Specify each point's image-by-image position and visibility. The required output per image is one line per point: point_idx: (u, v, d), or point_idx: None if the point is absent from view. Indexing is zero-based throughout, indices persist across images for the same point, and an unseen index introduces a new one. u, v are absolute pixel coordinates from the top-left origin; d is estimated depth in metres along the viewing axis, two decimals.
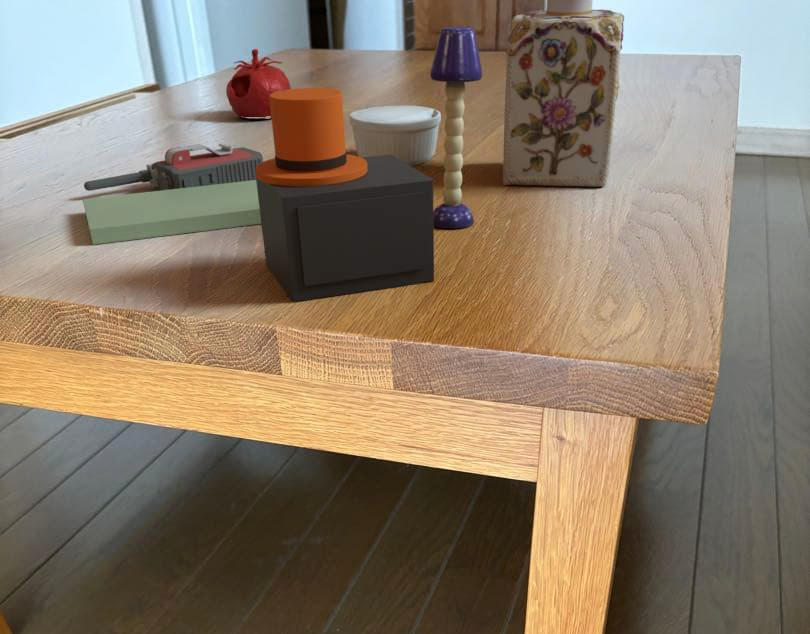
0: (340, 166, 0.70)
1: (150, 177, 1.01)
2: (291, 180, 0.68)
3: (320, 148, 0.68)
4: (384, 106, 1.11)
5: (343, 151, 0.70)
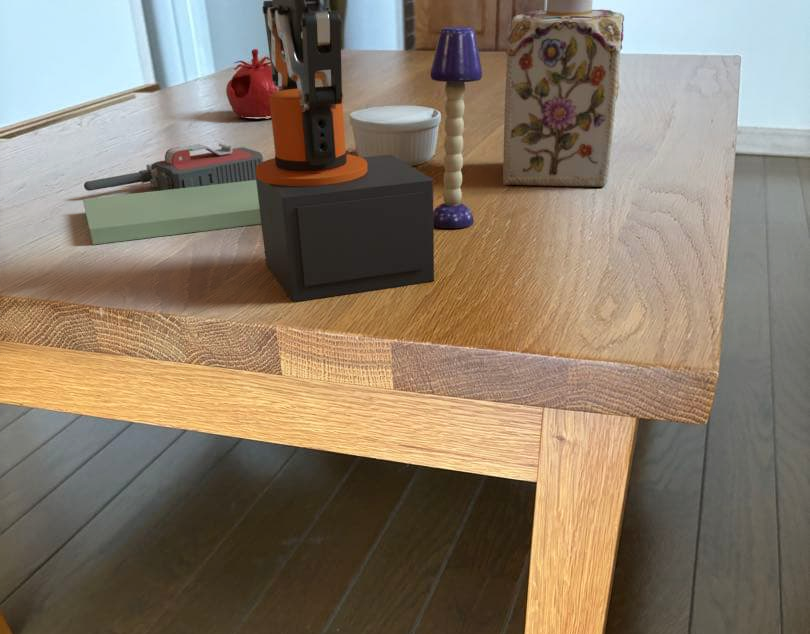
0: (340, 166, 0.70)
1: (150, 177, 1.01)
2: (291, 180, 0.68)
3: None
4: (384, 106, 1.11)
5: (343, 151, 0.70)
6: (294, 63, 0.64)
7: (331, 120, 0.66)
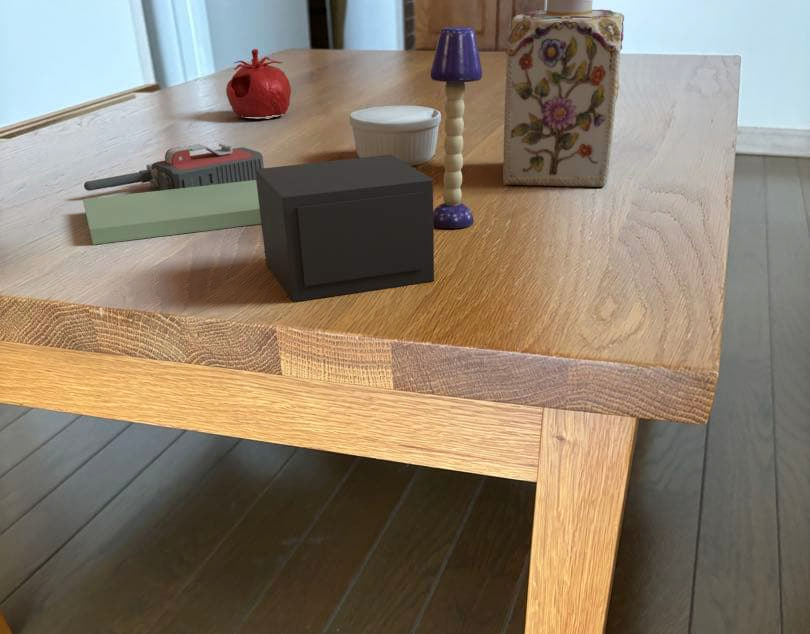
0: None
1: (150, 177, 1.01)
2: None
3: None
4: (384, 106, 1.11)
5: None
6: None
7: None
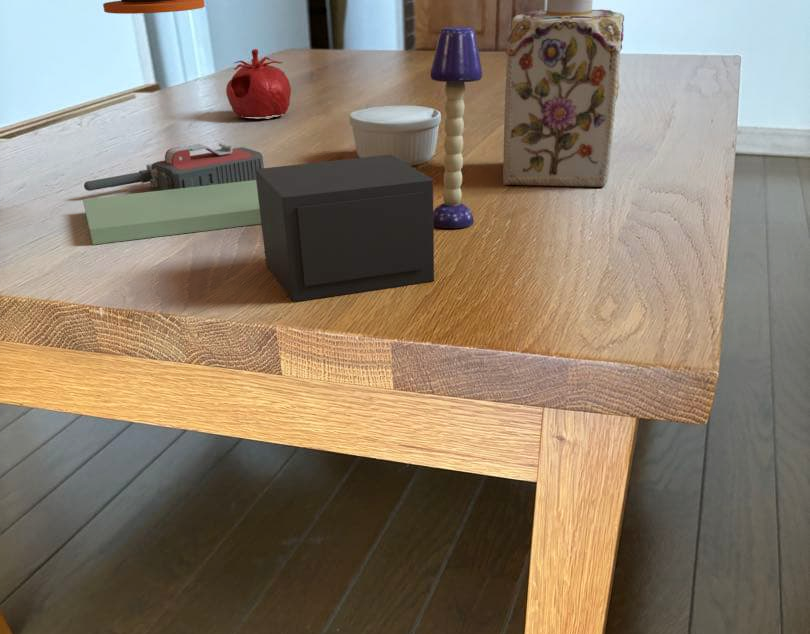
0: (176, 0, 0.79)
1: (150, 177, 1.01)
2: (129, 7, 0.77)
3: None
4: (384, 106, 1.11)
5: None
6: None
7: None
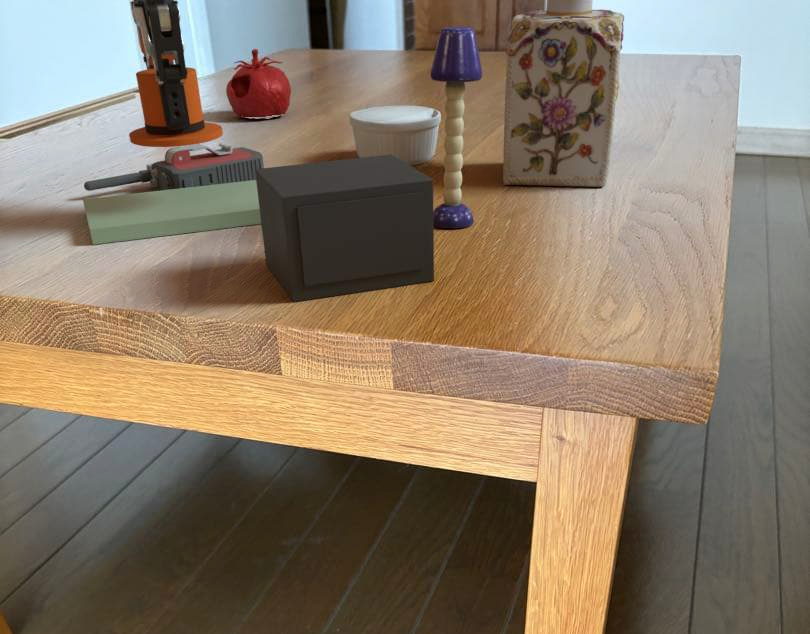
0: (197, 131, 0.85)
1: (150, 177, 1.01)
2: (154, 141, 0.83)
3: None
4: (384, 106, 1.11)
5: (199, 119, 0.85)
6: (148, 46, 0.79)
7: (183, 92, 0.82)
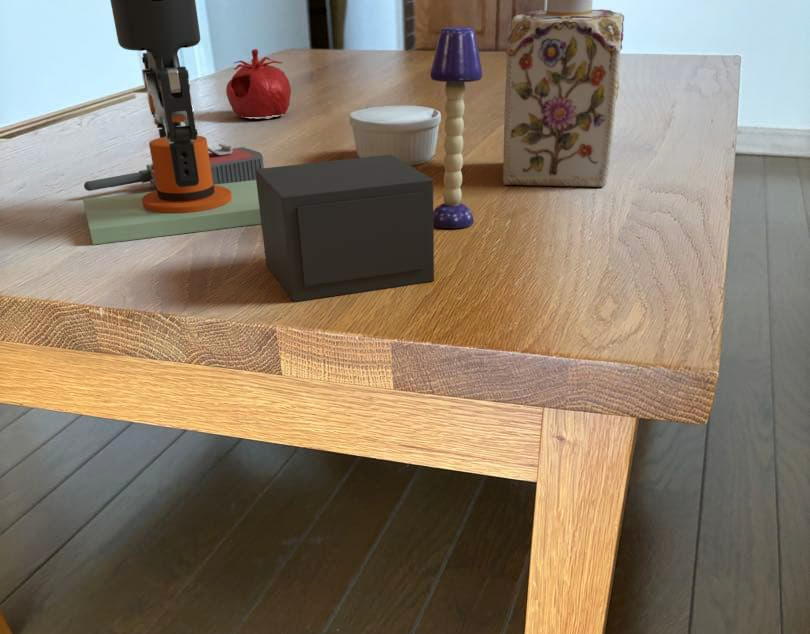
0: (207, 196, 0.89)
1: (150, 177, 1.01)
2: (166, 208, 0.87)
3: None
4: (384, 106, 1.11)
5: (210, 185, 0.89)
6: None
7: (193, 151, 0.84)
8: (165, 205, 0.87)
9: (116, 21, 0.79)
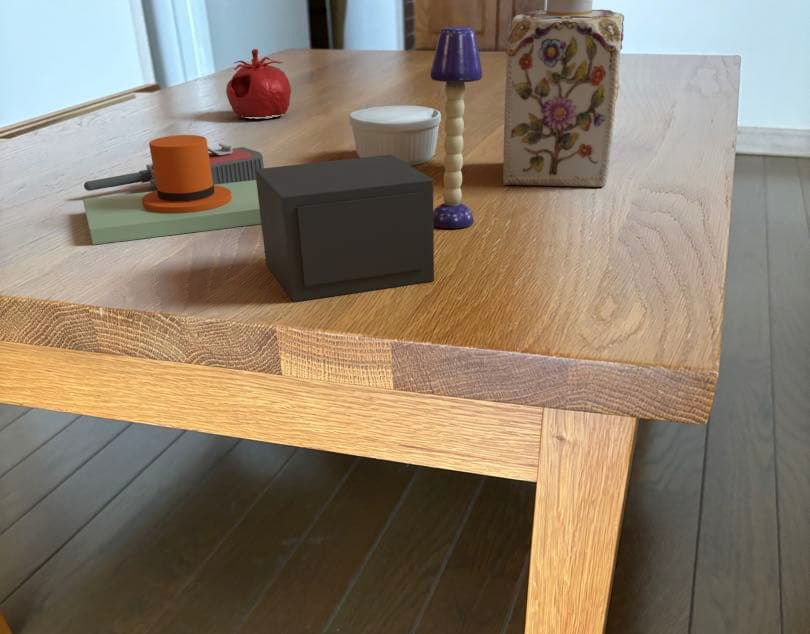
0: (207, 196, 0.89)
1: (150, 177, 1.01)
2: (166, 208, 0.87)
3: (188, 183, 0.87)
4: (384, 106, 1.11)
5: (210, 185, 0.89)
6: None
7: None
8: (165, 205, 0.87)
9: None
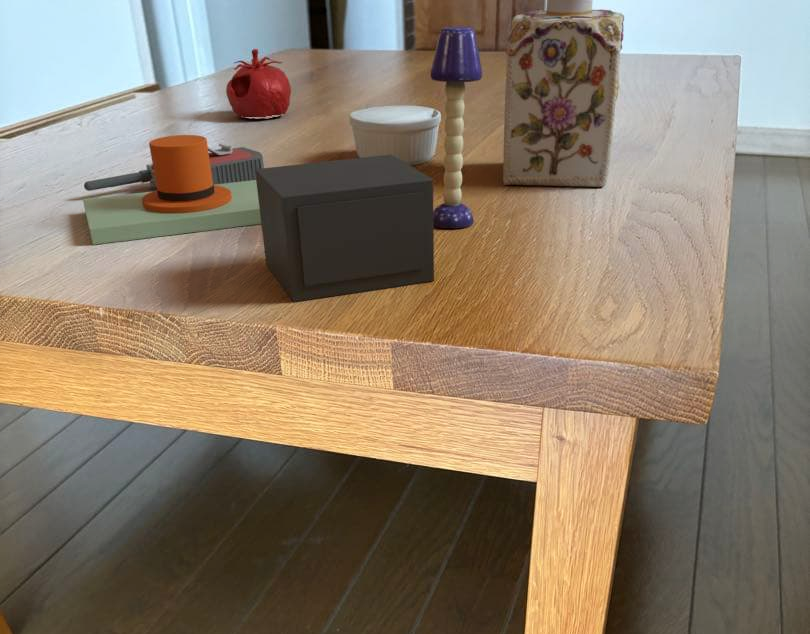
0: (207, 196, 0.89)
1: (150, 177, 1.01)
2: (166, 208, 0.87)
3: (188, 183, 0.87)
4: (384, 106, 1.11)
5: (210, 185, 0.89)
6: None
7: None
8: (165, 205, 0.87)
9: None
